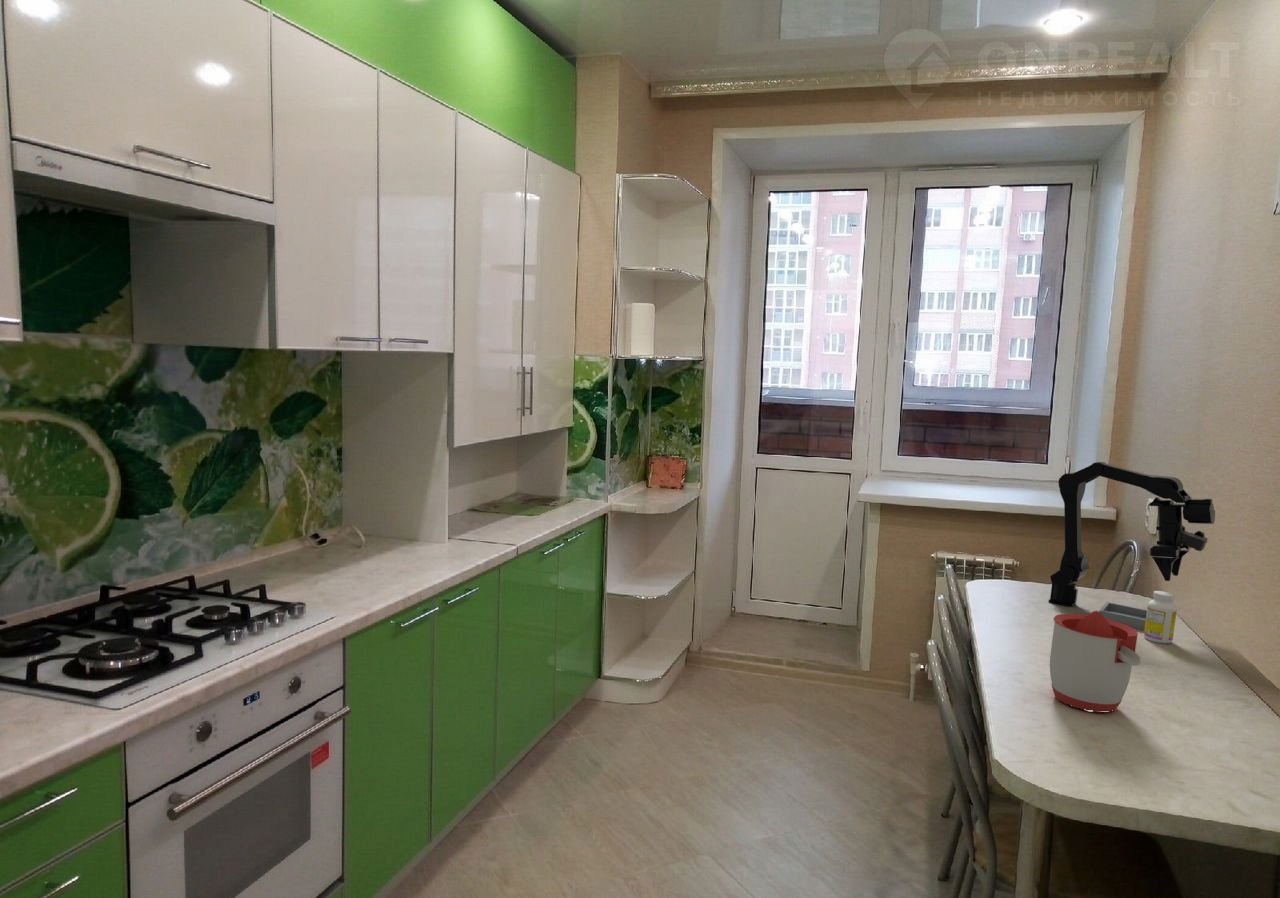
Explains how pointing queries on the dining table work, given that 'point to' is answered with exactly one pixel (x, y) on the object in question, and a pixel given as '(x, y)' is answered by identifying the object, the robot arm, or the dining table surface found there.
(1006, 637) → the dining table surface
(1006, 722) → the dining table surface
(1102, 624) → the citrus juicer
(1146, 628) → the supplement bottle
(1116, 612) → the tray
